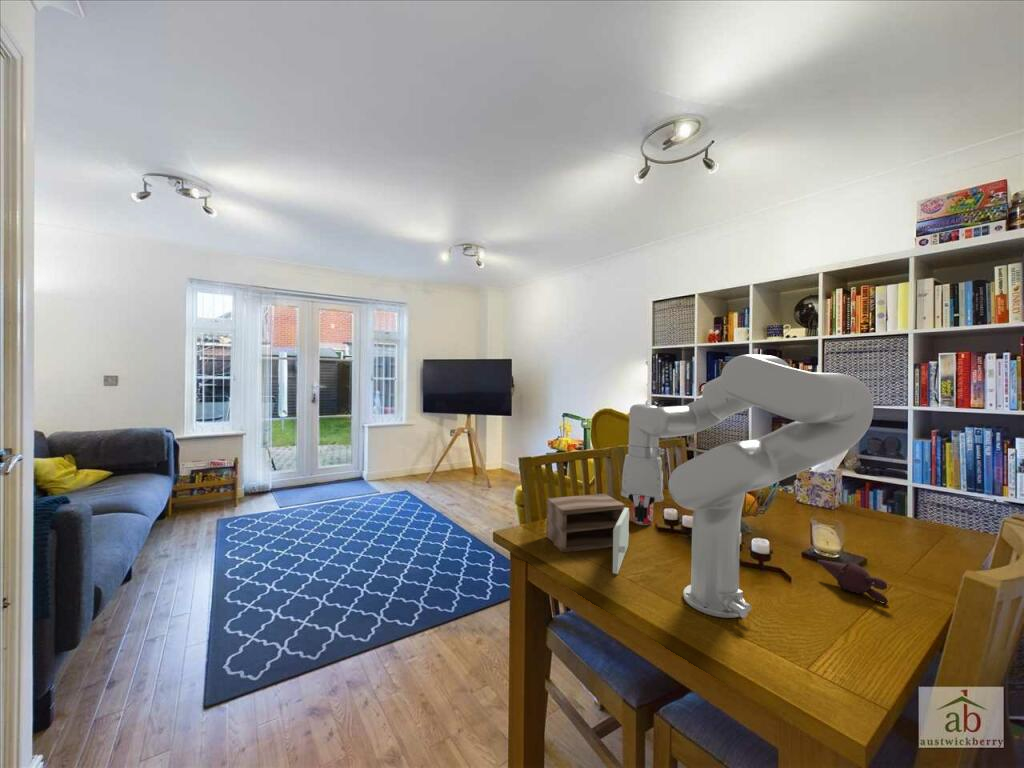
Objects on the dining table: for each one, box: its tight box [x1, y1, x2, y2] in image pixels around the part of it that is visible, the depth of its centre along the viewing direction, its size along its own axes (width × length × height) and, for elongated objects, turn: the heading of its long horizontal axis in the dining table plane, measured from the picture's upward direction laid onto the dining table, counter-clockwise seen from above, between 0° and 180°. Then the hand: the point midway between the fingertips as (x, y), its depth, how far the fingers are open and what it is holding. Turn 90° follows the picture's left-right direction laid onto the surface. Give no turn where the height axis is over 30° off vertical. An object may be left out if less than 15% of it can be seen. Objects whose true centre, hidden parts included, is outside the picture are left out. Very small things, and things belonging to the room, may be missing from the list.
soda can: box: [630, 495, 654, 526], centre depth 143 cm, size 7×7×12 cm
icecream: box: [816, 559, 889, 604], centre depth 99 cm, size 7×7×15 cm
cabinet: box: [545, 493, 626, 553], centre depth 127 cm, size 12×20×12 cm, turn 107°
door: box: [612, 507, 630, 575], centre depth 114 cm, size 3×20×11 cm, turn 157°
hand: (641, 520), depth 111 cm, fingers closed
